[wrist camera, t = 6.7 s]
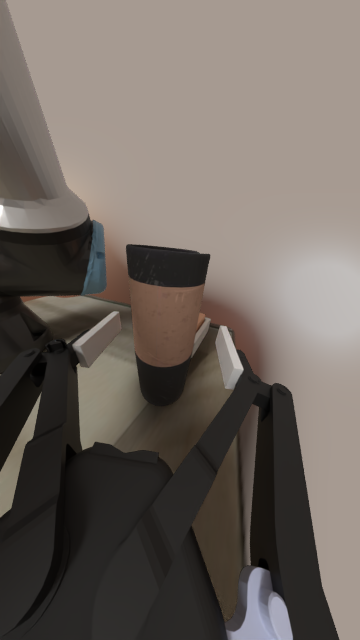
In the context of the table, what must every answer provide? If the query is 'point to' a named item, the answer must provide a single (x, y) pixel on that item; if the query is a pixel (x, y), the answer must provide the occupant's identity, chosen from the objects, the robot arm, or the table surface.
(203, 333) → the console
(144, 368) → the travel mug
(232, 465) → the table surface
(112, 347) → the table surface
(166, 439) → the table surface
